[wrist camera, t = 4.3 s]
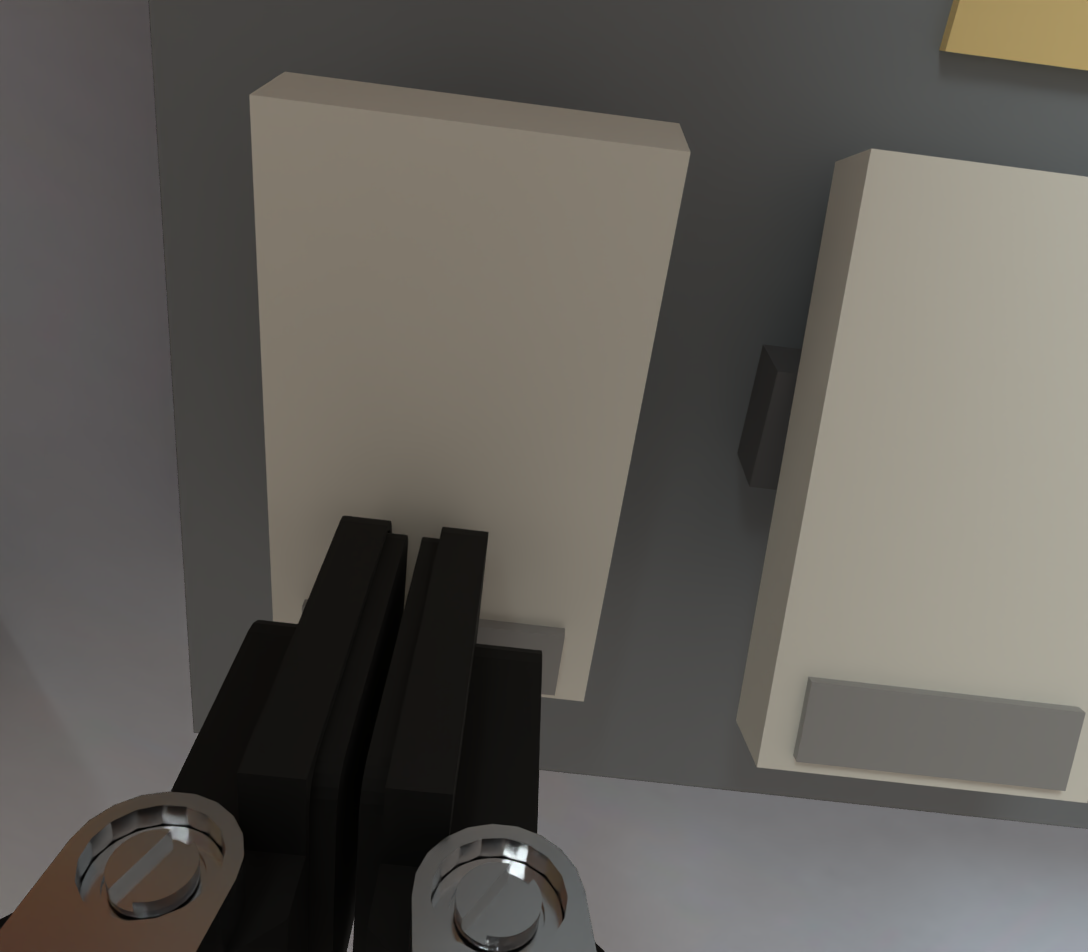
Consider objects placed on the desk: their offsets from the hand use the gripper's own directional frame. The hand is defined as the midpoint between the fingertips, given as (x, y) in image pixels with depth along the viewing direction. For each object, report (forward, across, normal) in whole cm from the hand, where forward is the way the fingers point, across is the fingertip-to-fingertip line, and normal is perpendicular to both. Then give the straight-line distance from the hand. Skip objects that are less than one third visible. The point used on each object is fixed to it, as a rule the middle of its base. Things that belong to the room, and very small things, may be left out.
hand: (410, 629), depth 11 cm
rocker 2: (+1, -6, -2) cm, 7 cm away
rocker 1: (+1, 0, -2) cm, 2 cm away
